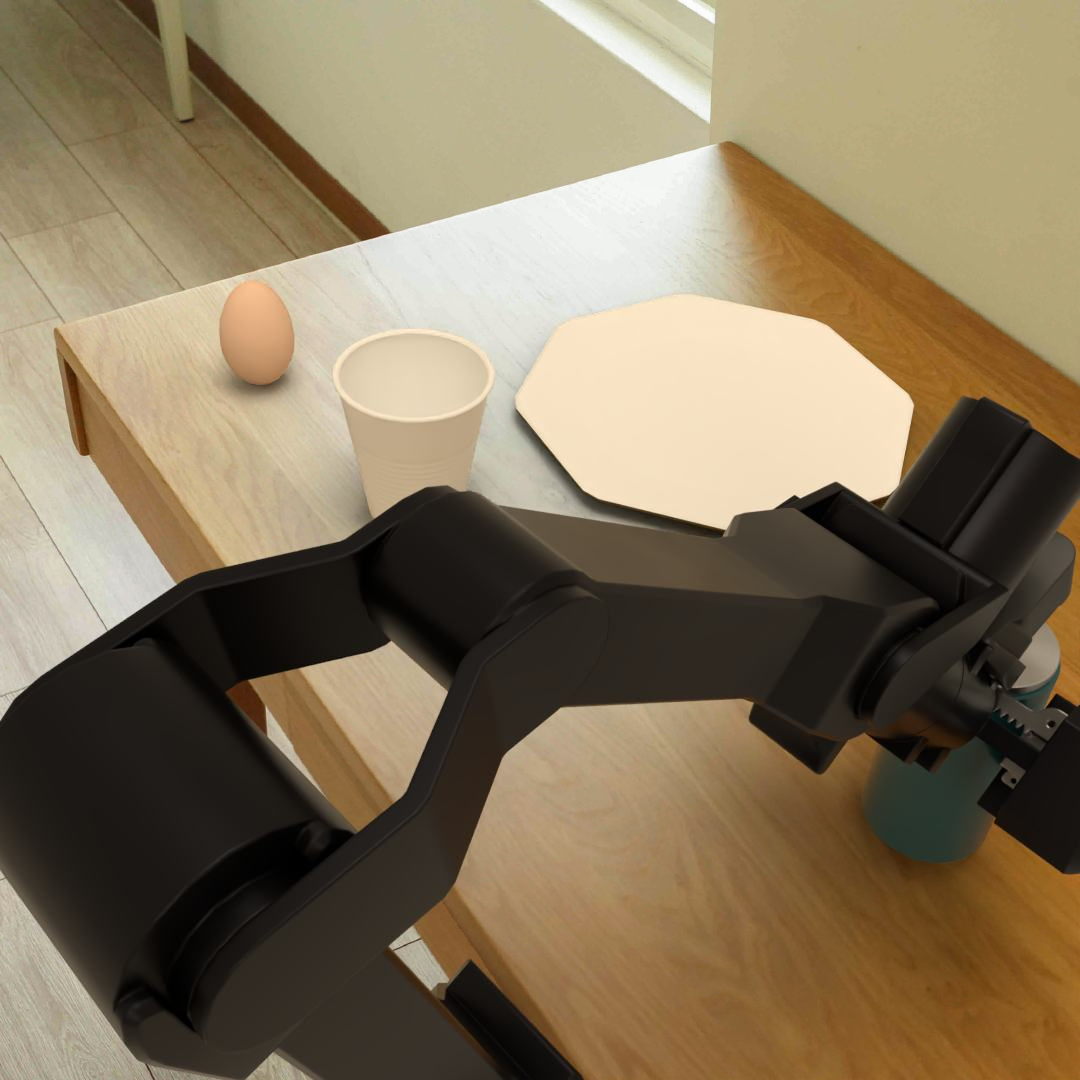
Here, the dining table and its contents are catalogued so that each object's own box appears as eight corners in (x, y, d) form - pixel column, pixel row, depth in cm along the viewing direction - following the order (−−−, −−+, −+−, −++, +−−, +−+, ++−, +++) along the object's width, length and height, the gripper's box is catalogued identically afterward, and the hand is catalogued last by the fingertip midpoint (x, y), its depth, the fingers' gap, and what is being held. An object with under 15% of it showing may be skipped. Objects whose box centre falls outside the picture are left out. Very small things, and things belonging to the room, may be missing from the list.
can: (989, 876, 68) (1071, 703, 59) (858, 848, 69) (919, 674, 60) (985, 775, 73) (1060, 603, 64) (863, 751, 74) (920, 577, 65)
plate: (983, 477, 95) (989, 460, 94) (648, 588, 85) (650, 571, 84) (763, 287, 113) (766, 271, 112) (463, 359, 103) (464, 343, 102)
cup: (330, 555, 86) (319, 415, 78) (351, 458, 93) (343, 322, 86) (486, 564, 86) (490, 425, 78) (494, 467, 93) (499, 332, 86)
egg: (229, 405, 97) (217, 307, 91) (221, 365, 101) (208, 268, 95) (303, 396, 98) (295, 298, 93) (291, 356, 102) (283, 260, 96)
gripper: (1233, 630, 48) (1249, 690, 62) (823, 392, 58) (912, 488, 71) (1049, 879, 49) (1103, 886, 63) (677, 604, 59) (792, 660, 72)
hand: (972, 715), depth 67 cm, fingers closed on can, 6 cm apart
